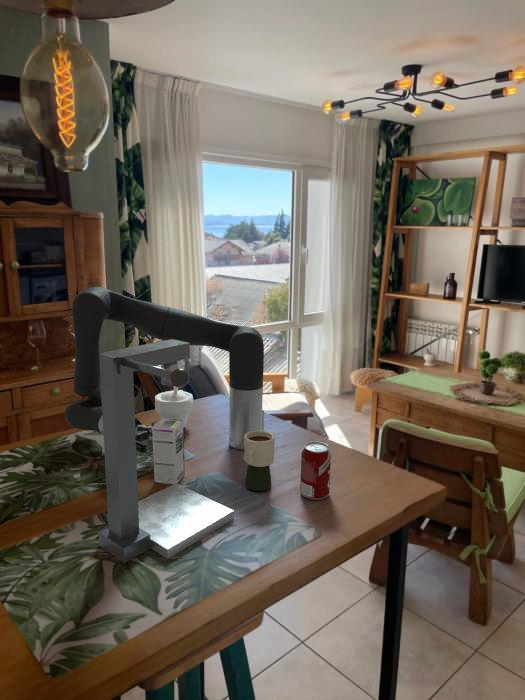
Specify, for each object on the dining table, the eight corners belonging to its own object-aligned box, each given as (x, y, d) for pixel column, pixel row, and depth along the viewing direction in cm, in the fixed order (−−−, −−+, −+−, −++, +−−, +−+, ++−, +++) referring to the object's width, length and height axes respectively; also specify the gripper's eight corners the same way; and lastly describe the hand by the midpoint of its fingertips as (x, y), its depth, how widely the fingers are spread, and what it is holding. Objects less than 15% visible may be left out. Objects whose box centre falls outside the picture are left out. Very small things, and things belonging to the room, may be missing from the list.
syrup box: (176, 485, 123) (175, 428, 120) (153, 482, 124) (151, 425, 121) (185, 474, 129) (184, 419, 125) (162, 471, 130) (161, 417, 126)
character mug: (254, 474, 129) (254, 425, 126) (280, 480, 127) (282, 430, 124) (234, 494, 120) (235, 441, 117) (262, 501, 117) (264, 447, 114)
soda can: (310, 504, 116) (312, 454, 113) (294, 491, 122) (296, 443, 119) (334, 498, 119) (337, 449, 116) (318, 485, 125) (320, 438, 122)
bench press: (176, 490, 120) (173, 328, 112) (267, 535, 104) (271, 348, 95) (84, 535, 102) (71, 345, 94) (175, 598, 86) (171, 374, 77)
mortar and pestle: (201, 425, 161) (200, 346, 155) (176, 437, 151) (174, 354, 145) (170, 416, 167) (169, 341, 161) (144, 427, 158) (141, 347, 152)
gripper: (95, 420, 131) (134, 438, 121) (141, 406, 141) (181, 421, 131) (96, 448, 132) (136, 467, 122) (142, 432, 143) (181, 449, 133)
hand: (159, 443), depth 127 cm, fingers open, 8 cm apart
